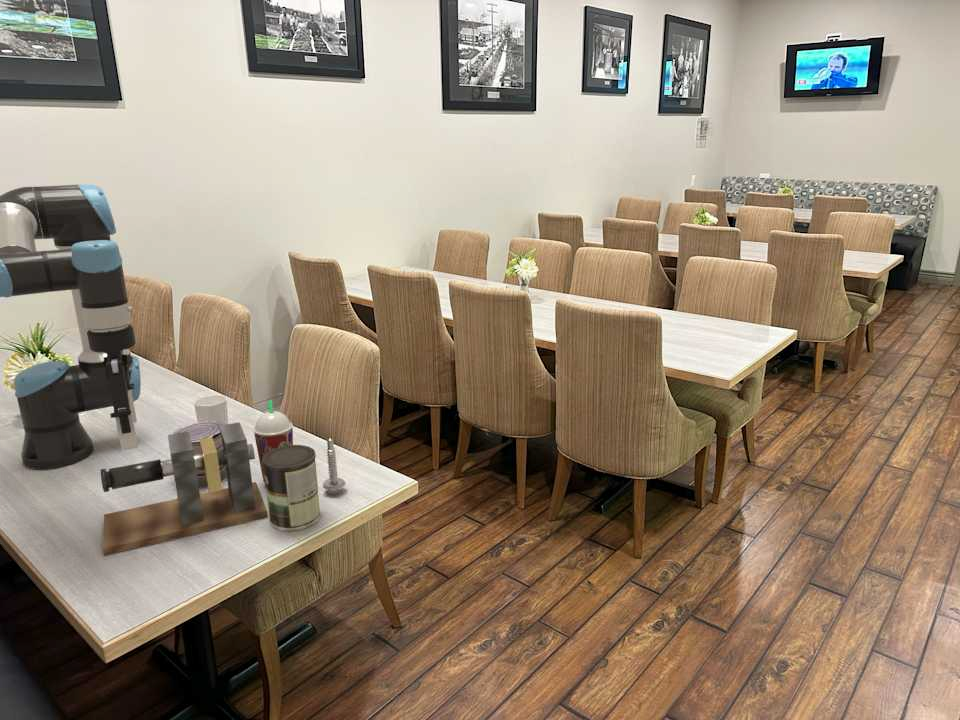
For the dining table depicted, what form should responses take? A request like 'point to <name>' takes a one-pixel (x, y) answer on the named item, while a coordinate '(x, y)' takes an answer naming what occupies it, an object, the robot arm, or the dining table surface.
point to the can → (196, 433)
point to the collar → (211, 464)
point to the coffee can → (291, 487)
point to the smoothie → (272, 433)
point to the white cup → (211, 409)
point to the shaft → (153, 470)
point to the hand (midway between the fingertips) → (129, 434)
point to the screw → (332, 471)
